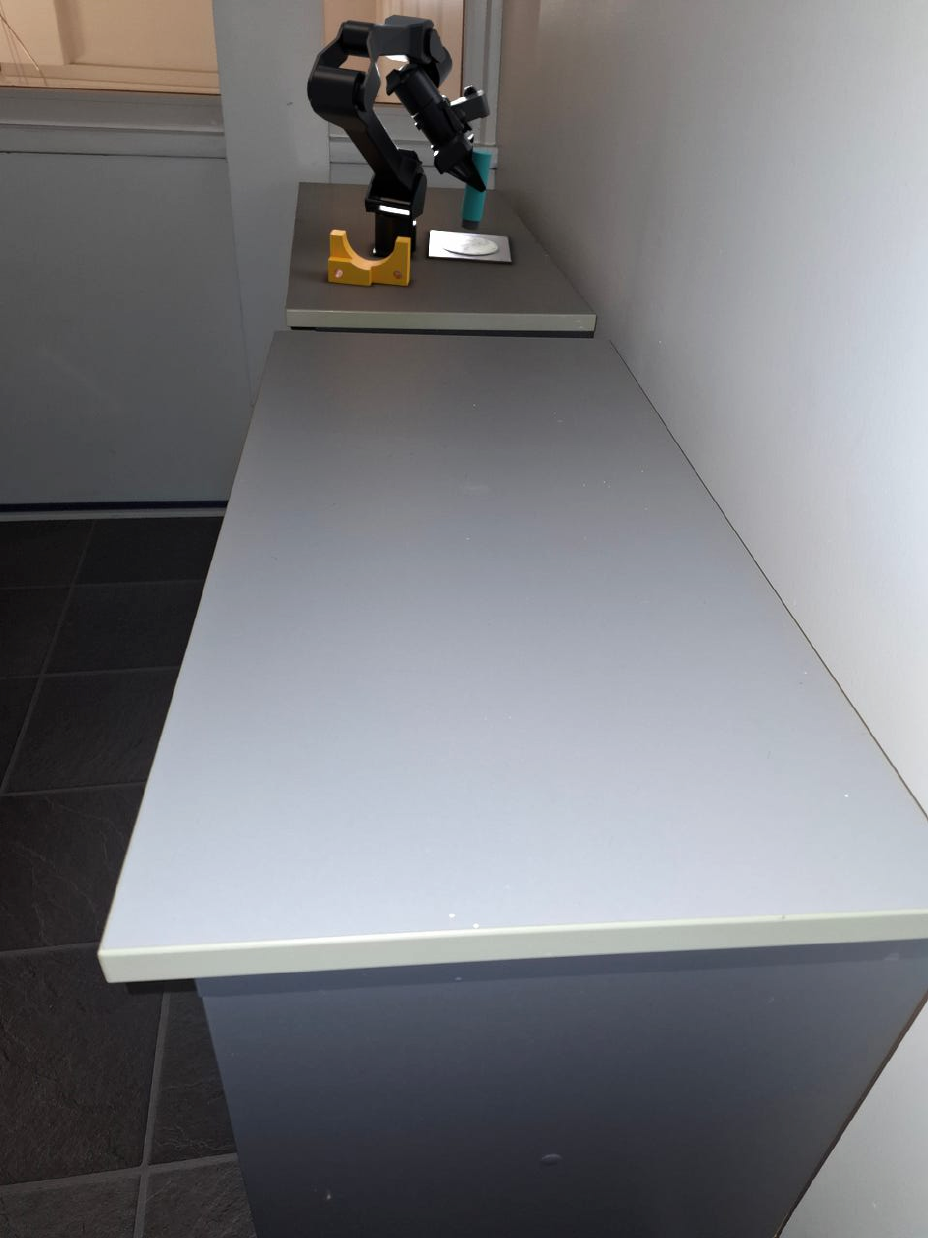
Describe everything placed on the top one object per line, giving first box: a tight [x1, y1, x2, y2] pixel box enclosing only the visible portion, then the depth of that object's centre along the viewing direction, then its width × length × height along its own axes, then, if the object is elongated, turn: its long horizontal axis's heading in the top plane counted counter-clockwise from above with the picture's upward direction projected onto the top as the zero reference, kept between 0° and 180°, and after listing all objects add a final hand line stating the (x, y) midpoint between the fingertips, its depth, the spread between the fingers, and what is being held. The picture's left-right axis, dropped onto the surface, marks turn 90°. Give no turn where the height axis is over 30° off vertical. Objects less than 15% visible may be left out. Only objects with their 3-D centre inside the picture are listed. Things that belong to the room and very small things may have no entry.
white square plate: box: [428, 230, 512, 265], centre depth 150 cm, size 14×14×1 cm
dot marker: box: [460, 148, 493, 231], centre depth 145 cm, size 4×4×12 cm
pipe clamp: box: [327, 229, 411, 287], centre depth 132 cm, size 12×4×6 cm, turn 84°
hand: (484, 187), depth 145 cm, fingers closed on dot marker, 3 cm apart
